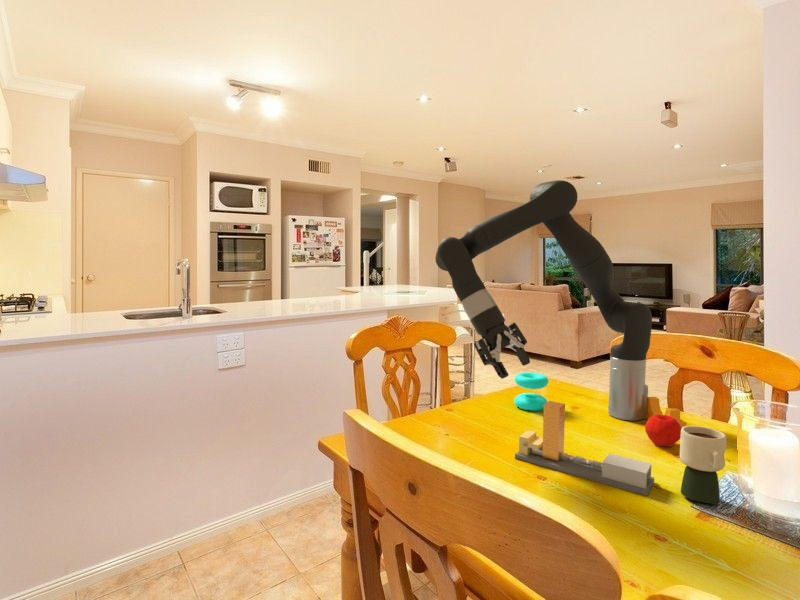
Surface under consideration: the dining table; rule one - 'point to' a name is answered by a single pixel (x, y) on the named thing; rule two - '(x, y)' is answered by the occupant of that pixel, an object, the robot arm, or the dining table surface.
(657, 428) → the apple
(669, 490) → the dining table surface
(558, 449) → the orange-brown upright block
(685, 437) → the mug on green stand
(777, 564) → the dining table surface
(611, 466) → the board
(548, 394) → the dining table surface
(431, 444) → the dining table surface
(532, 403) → the donuts
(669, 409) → the pipe clamp
